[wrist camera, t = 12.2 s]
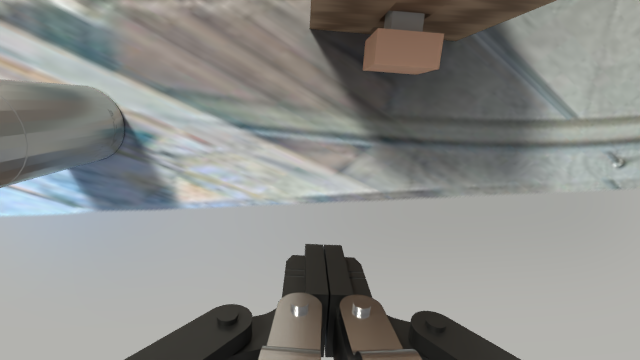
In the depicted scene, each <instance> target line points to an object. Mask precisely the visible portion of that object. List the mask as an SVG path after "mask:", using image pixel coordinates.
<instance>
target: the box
mask: <svg viewBox="0 0 640 360" xmlns="http://www.w3.org/2000/svg"><path fill="white" fill-rule="evenodd" d="M554 1H556V0H311V15H310V29H317V30H329V31H341V32H353V33H365V34H373V33H374V32H375V31H376V30H377V29H378V28H384V22H385V14H386V13H387V12H388V11H389V10H390V11H402V12H413V13H424V14H425V16H424V24H423V31H422V32H431V33H443V34H444V39H443V40H449V41H457V40H460V39H462V38H465V37H467V36H470V35H472V34H475V33H477V32H480V31H482V30H484V29H487V28H489V27H492V26H494V25H497V24H499V23H502V22H504V21H507V20H509V19H512V18H514V17H517V16H519V15H522V14H524V13H526V12H529V11H531V10H534V9H536V8H539V7H541V6H544V5H546V4H549V3H551V2H554Z"/></svg>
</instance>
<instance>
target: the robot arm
mask: <svg viewBox="0 0 640 360" xmlns="http://www.w3.org/2000/svg"><path fill="white" fill-rule="evenodd" d="M123 137H124V122H123V118H122V115H121V113H120V110H119V109H118V107H117V106H116V104H115V103H114V102H113V101H112V100H111V99H110V98H109V97H108V96H107V95H105V94H104V93H103V92H101V91H99V90H97V89H95V88H91V87H88V86H80V85H67V84H56V83H42V82H29V81H15V80H1V79H0V188H1V187H5V186H8V185H12V184H16V183H19V182H23V181H26V180H30V179H33V178H37V177H41V176H44V175H48V174H51V173H55V172H58V171H62V170H66V169H69V168H73V167H76V166H80V165H84V164H87V163H91V162H94V161H98V160H101V159H104V158H107V157H109V156H110V155H112V154H113V153H115V152H116V150H117V149H118V148H119V147H120V145H121V143H122V141H123ZM305 245H306V246H305V256H299V255H292V256H291V257H290V258H289V259H288V260H287V261H286V269H285V277H284V285H283V294H282V298H281V299H280V301H279V302H278V305H277V308H276V309H275V310H273V311H271V312H269V313H267V314H264V315H259V316H254V317H252V313H251V312H250V311H249V309H247V308H245V307H243V306H241V305H234V304H229V305H223V306H219V307H216V308H214V309H212V310H211V311H209V312H207V313H205V314H204V315H202V316H200V317H198V318H197V319H195V320H193V321H191V322H190V323H188V324H186V325H185V326H183V327H181V328H179V329H177V330H175V331H174V332H172V333H170V334H169V335H167V336H165V337H163V338H161V339H160V340H158V341H156V342H155V343H153V344H151V345H150V346H147V347H146V348H144V349H142V350H140V351H139V352H137V353H135V354H134V355H132V356H130V357H128V358H126V359H125V360H321V357H323V356H324V345H325V356H326V357H333V358H334V360H521V359H519V358H517V357H515V356H514V355H512V354H510V353H508V352H507V351H505V350H503V349H501V348H500V347H498V346H496V345H494V344H493V343H491V342H489V341H488V340H486V339H484V338H482V337H481V336H479V335H477V334H475V333H474V332H472V331H470V330H468V329H467V328H465V327H463V326H461V325H460V324H458V323H456V322H454V321H453V320H451V319H449V318H448V317H446V316H444V315H442V314H439V313H436V312H431V311H421V312H417V313H415V314H414V315H413V316H412V318H411V322H407V321H403V320H399V319H395V318H392V317H390V316H388V315H386V313H385V311H384V309H383V307H382V305H381V304H380V303H379V302H378V301H376V300H375V299H373V298H372V296H371V293H370V290H369V287H368V284H367V281H366V279H365V275H364V273H363V269H362V266H361V264H360V263H359V262H358V261H357V260H356V259H355V258H348V257H344V254H343V250H342V246H341V245H324V247H323V245H318V244H305Z"/></svg>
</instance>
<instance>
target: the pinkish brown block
mask: <svg viewBox="0 0 640 360" xmlns="http://www.w3.org/2000/svg"><path fill="white" fill-rule="evenodd" d="M424 16H425V14H424V13H413V12H402V11H390V10H389V11H388V12H387V13H386V14H385V22H384V28H378V29H377V30H376V31H375V32H374V33H373V34H372V35H371V36H370V37H369V38H368V39H367V40H366V41H365V51H364V62H363V70H364V71H377V72H390V73H403V74H416V75H417V74H421V73H425V72H429V71H433V70H437V69H439V66H440V59H441V52H442V46H443V39H444V34H443V33H431V32H422V31H423V24H424Z"/></svg>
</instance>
